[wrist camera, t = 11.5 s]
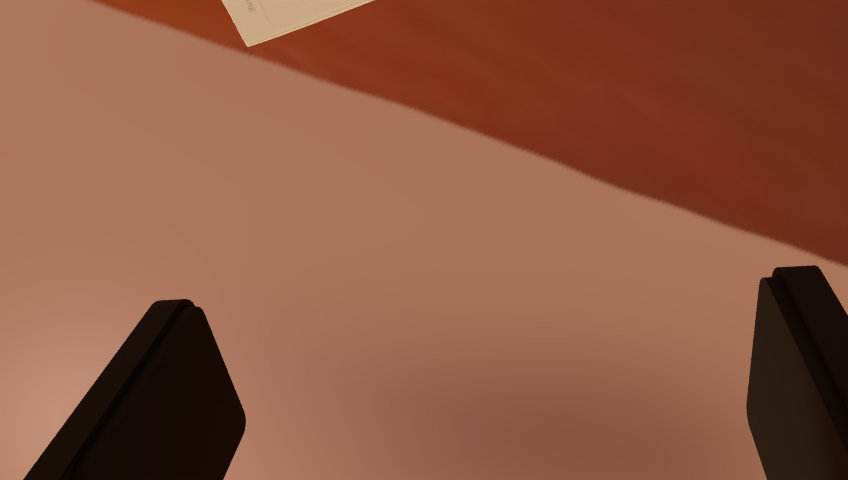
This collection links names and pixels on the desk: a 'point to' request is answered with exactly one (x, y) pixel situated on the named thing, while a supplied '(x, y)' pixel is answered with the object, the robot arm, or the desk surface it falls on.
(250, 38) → the skincare box
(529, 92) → the desk surface
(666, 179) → the desk surface
